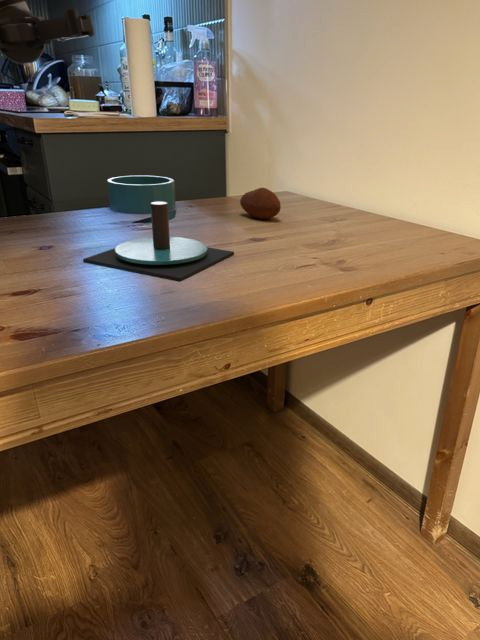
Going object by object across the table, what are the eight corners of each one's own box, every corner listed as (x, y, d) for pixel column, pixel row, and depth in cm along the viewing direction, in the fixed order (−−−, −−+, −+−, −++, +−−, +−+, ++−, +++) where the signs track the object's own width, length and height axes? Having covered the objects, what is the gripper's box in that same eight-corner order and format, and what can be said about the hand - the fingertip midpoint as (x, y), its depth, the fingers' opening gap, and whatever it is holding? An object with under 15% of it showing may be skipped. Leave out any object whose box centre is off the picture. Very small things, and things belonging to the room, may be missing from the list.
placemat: (83, 262, 77) (82, 258, 77) (147, 240, 90) (146, 237, 90) (180, 281, 71) (180, 277, 70) (234, 254, 84) (234, 251, 83)
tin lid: (95, 259, 77) (88, 205, 73) (152, 239, 89) (149, 191, 85) (174, 274, 72) (171, 217, 68) (224, 251, 83) (223, 200, 80)
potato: (251, 211, 116) (252, 182, 113) (289, 220, 109) (291, 189, 106) (232, 215, 112) (233, 185, 109) (271, 224, 105) (272, 192, 102)
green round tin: (97, 217, 105) (93, 180, 102) (138, 207, 116) (135, 173, 113) (150, 226, 100) (147, 187, 97) (187, 214, 111) (186, 179, 108)
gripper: (103, 56, 85) (123, 52, 68) (-58, 70, 78) (-81, 70, 61) (92, 3, 81) (110, -16, 64) (-78, 13, 74) (-109, -5, 57)
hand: (17, 26), depth 63 cm, fingers open, 13 cm apart
